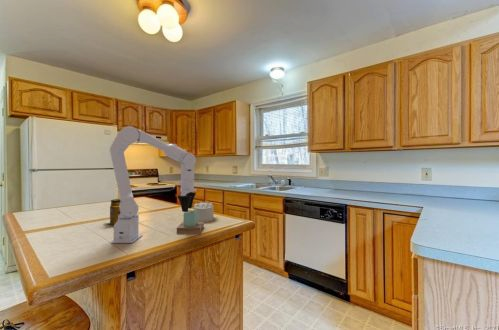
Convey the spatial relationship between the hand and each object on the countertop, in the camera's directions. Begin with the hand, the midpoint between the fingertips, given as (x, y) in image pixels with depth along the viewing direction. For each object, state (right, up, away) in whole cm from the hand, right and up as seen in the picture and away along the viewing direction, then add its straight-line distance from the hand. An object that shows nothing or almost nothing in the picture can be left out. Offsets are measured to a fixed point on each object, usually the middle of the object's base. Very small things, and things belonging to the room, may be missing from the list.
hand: (187, 209), depth 106 cm
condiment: (-38, -9, +10) cm, 40 cm away
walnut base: (+1, -10, +1) cm, 10 cm away
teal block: (+1, -7, +1) cm, 7 cm away
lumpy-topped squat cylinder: (+3, -9, +21) cm, 23 cm away
